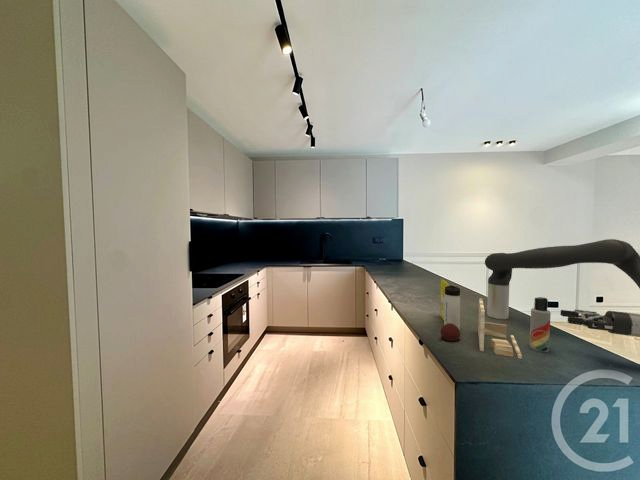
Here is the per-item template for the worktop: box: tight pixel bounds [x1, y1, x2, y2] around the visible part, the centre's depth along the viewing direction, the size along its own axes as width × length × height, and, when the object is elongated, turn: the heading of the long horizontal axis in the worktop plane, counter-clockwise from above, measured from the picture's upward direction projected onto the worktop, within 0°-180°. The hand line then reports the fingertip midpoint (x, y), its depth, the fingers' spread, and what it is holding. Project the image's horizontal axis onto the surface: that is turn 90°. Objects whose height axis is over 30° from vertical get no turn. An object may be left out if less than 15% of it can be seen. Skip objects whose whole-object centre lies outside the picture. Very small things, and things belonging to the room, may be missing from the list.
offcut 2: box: [490, 342, 514, 357], centre depth 99 cm, size 6×5×2 cm
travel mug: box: [443, 284, 461, 330], centre depth 120 cm, size 6×7×20 cm
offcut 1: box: [491, 338, 514, 352], centre depth 99 cm, size 6×5×2 cm
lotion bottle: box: [529, 296, 552, 353], centre depth 101 cm, size 6×6×20 cm
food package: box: [439, 278, 450, 321], centre depth 133 cm, size 15×1×20 cm, turn 168°
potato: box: [440, 323, 461, 342], centre depth 110 cm, size 7×8×7 cm
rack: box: [477, 297, 523, 360], centre depth 105 cm, size 20×13×16 cm, turn 151°
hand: (564, 316), depth 97 cm, fingers open, 8 cm apart
